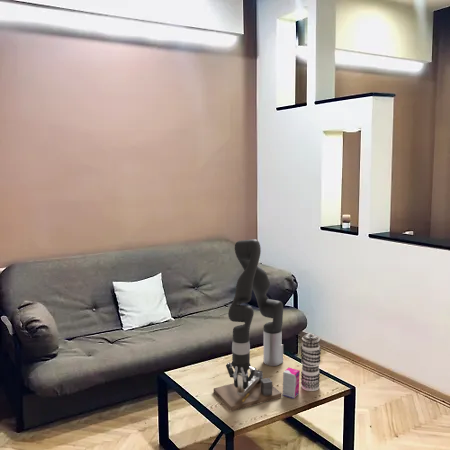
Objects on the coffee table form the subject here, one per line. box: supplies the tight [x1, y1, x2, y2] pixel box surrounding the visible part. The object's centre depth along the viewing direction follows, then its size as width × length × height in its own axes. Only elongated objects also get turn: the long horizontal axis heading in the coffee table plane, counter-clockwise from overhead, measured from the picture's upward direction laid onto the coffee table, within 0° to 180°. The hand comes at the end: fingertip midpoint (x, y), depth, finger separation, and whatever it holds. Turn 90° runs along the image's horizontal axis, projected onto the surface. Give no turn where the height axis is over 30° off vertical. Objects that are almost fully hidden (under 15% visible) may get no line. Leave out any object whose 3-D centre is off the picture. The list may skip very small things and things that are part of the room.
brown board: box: [213, 377, 283, 412], centre depth 223 cm, size 25×18×8 cm
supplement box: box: [282, 367, 301, 399], centre depth 222 cm, size 6×6×12 cm
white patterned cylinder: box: [300, 333, 322, 392], centre depth 228 cm, size 9×9×25 cm
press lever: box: [237, 369, 264, 397], centre depth 223 cm, size 22×4×12 cm, turn 152°
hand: (240, 387), depth 215 cm, fingers closed on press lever, 3 cm apart
